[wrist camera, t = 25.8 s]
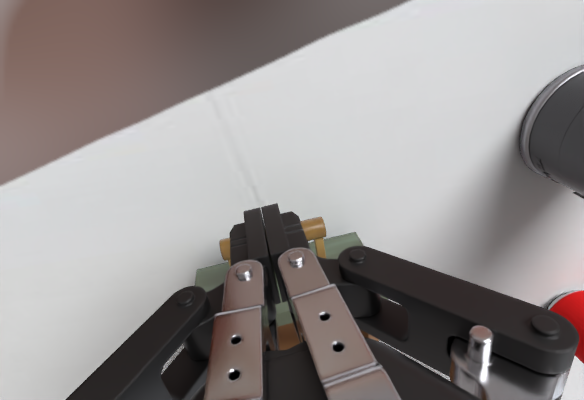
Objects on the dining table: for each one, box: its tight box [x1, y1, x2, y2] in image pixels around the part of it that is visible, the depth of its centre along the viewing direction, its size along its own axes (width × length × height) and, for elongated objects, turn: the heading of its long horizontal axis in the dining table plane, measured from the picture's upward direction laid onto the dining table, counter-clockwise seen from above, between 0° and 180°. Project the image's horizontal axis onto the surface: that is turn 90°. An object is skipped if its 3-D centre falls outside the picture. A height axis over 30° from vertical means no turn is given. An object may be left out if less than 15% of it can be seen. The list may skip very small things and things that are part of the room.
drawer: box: [195, 217, 388, 350], centre depth 29 cm, size 20×14×7 cm
